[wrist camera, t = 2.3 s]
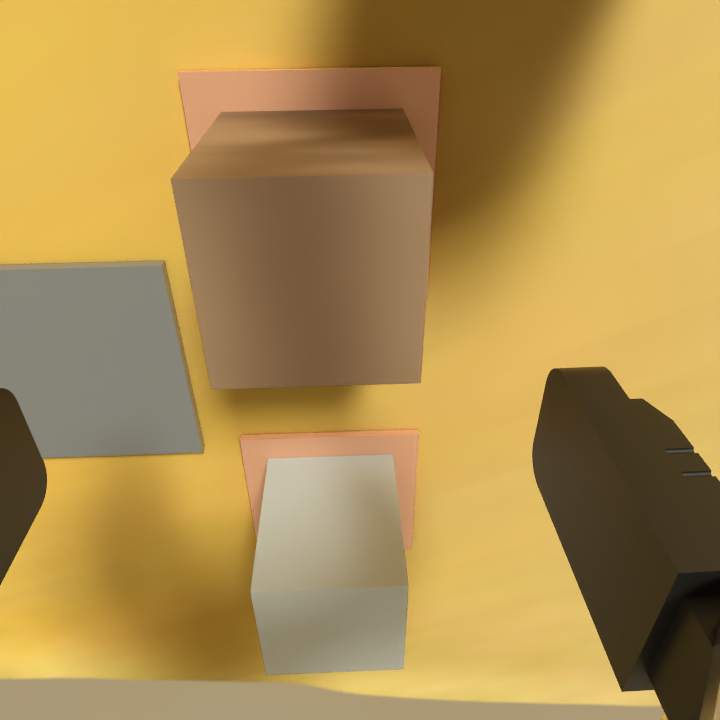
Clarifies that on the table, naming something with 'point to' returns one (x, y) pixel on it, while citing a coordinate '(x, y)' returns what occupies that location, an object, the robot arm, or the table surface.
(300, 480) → the white block
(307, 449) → the code tile
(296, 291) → the walnut block
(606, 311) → the table surface
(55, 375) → the slate coaster
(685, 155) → the table surface
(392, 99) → the code tile
